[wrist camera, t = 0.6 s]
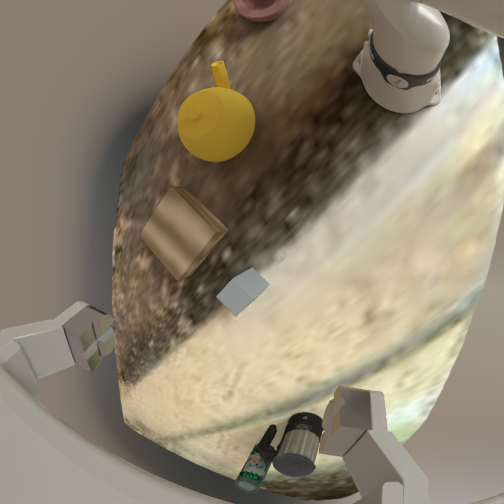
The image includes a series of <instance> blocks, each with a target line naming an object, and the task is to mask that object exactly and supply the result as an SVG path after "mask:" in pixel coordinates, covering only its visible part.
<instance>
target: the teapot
mask: <svg viewBox="0 0 504 504" xmlns="http://www.w3.org/2000/svg"><path fill="white" fill-rule="evenodd" d="M211 68H212V72H213V76H214V80H215V84H216V87H212V88H207V89H203V90H200V91H198V92H196V93H194V94H192V95H191V96H189V97H188V98H187V99H186V100H185V101H184V102H183V104H182V105H181V107H180V109H179V112H178V115H177V129H178V133H179V137H180V139H181V141H182V143H183V145H184V146H185V147H186V149H187V150H188V151H189V152H191V153H192V154H193V155H194V156H196V157H198V158H200V159H202V160H205V161H208V162H221V161H225V160H228V159H230V158H233V157H234V156H236V155H237V154H239V153H240V152H241V151H242V150H243V149H244V148H245V147H246V146H247V145H248V143H249V141H250V140H251V138H252V135H253V132H254V129H255V113H254V109H253V107H252V105H251V103H250V102H249V100H248V99H247V98H246V97H245V96H243V95H242V94H240V93H239V92H237V91H234V90H232V89H231V87H230V83H229V79H228V76H227V72H226V68H225V64H224V61H217V62H214V63H212V64H211Z"/></svg>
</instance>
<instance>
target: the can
mask: <svg viewBox="0 0 504 504" xmlns="http://www.w3.org/2000/svg"><path fill="white" fill-rule="evenodd" d="M258 445H259V444H257V445H255V447H254V449H253V450H252V452H251V454H250V456H249V458H248V460H247V461H246V463H245V465H244V467H243V469H242V470H241V472H240V474H239V476H238V477H237V479H236V481H235V485H236V486H237V488H239V489H240V490H242V491H244V492H248V493H255V492H257V491H258V490H259V489H260V486H261V484H262V482H263V480H264V478H265V476H266V474H267V472H268V469H269V467H270V465H271V463H272V462H270V461H266V460H264V459H263V458H261V457H260V455H259V452H258ZM268 449H270V450H275V449H274V448H273V447H272V446H269V448H268Z"/></svg>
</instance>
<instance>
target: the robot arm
mask: <svg viewBox="0 0 504 504" xmlns="http://www.w3.org/2000/svg"><path fill="white" fill-rule="evenodd" d="M361 1H362V3H363V4H364V5H365V6H366V8H367V9H368V10H369V12H370V14H371V17H372V23H373V29H370V31H369V33H368V38H369V40H368V41H365V42H364V45H363V46H364V47H363V49H362V50H361V52H360V53H359V55H358V56H357V58H356V59H355V61H354V62H353V65H352V68H353V70H354V71H355V72H356V73H357V74H358V75H359V76H360V77H361V79H362V82H363V84H364V87H365V89H366V91H367V93H368V94H369V95H370V97H371V98H372V99H373V100H374V101H375V102H376V103H378V104H379V105H381V106H382V107H384V108H386V109H388V110H390V111H393V112H397V113H413V112H416V111H418V110H420V109H422V108H423V107H425V106H428V105H437V104H439V102H440V99H441V87H440V65H441V58H442V56H443V54H444V52H445V50H446V48H447V46H448V44H449V39H450V34H449V29H448V26H447V24H446V22H445V20H444V18H443V16H442V15H441V13H440V12H439V11H442V12H444V13H446V14H449V15H451V16H453V17H455V18H457V19H459V20H462V21H464V22H466V23H468V24H470V25H472V26H473V27H475V28H478V29H481V30H484V31H486V32H489V33H491V34H494V35H496V36H499V37H502V38H504V0H361ZM438 10H439V11H438ZM359 62H360V63H359ZM435 94H436V95H435ZM112 324H113V321H112V317H111V316H110V315H108V314H106V313H104V312H102V311H100V310H98V309H96V308H95V307H93V306H90V305H88V304H86V303H84V302H83V301H79V302H76V303H75V304H74V305H72V306H71V307H70V308H68V309H67V310H66V311H64V312H63V313H62V314H60V315H59V316H58V317H57V318H55V319H54V320H50V319H49V320H44V321H39V322H35V323H30V324H26V325H20V326H16V327H11V328H6V329H3V330H2V331H0V504H233V503H230V502H226V501H222V500H219V499H216V498H213V497H209V496H206V495H203V494H200V493H197V492H194V491H192V490H189V489H187V488H184V487H181V486H179V485H176V484H174V483H171V482H169V481H166V480H164V479H162V478H160V477H157V476H155V475H153V474H151V473H149V472H147V471H144V470H143V469H140V468H138V467H137V466H135V465H133V464H131V463H129V462H127V461H125V460H123V459H121V458H120V457H118V456H116V455H114V454H113V453H111V452H109V451H107V450H106V449H104V448H103V447H101V446H99V445H98V444H96V443H95V442H93V441H91V440H90V439H88V438H87V437H85V436H84V435H82V434H81V433H79V432H78V431H77V430H75V429H74V428H72V427H71V426H69V425H68V424H67V423H65V422H64V421H63V420H61V419H60V418H59V417H57V416H56V415H55V414H54V413H52V412H51V411H50V410H48V409H47V408H46V407H45V406H44V405H42V404H41V403H40V402H39V401H38V400H37V399H36V398H35V397H36V396H37V395H38V394H39V393H40V392H41V390H42V388H41V386H40V384H39V382H38V380H37V379H39V378H41V377H45V376H47V375H50V374H52V373H55V372H57V371H60V370H62V369H65V368H67V367H70V366H72V365H75V363H76V364H78V365H79V366H81V367H83V368H85V369H86V370H88V371H90V372H92V371H93V370H94V369H95V368H96V367H97V366H98V364H100V362H101V357H102V356H105V355H108V354H109V353H110V352H111V351H112V349H113V347H114V345H115V339H116V337H115V332H114V331H113V329H112V328H111V326H112ZM322 427H323V429H324V430H325V431H324V433H323V434H322V436H321V437H320V446H319V453H321V454H327V455H334V456H341V457H343V460H344V462H345V464H346V466H347V468H348V470H349V472H350V474H351V476H352V478H353V480H354V482H355V484H356V486H357V488H358V490H359V492H360V494H361V496H362V499H360V500H358V501H357V502H355V503H353V504H429V487H428V478H427V477H426V476H425V475H424V473H423V472H422V471H421V469H420V468H419V467H418V465H417V464H416V463H415V462H414V460H413V459H412V458H411V456H410V455H409V454H408V453H407V451H406V450H405V449H404V447H403V446H402V445H401V444H400V442H399V441H398V440H397V438H396V437H395V436H394V435H393V433H392V432H387V420H386V410H385V401H384V394H383V393H382V392H379V391H371V390H364V389H357V388H350V387H344V386H339V387H338V388H337V389H336V391H335V392H334V399H333V400H331V401H329V403H328V405H327V407H326V410H325V412H324V416H323V421H322ZM472 504H504V493H502V494H500V495H497V496H494V497H491V498H488V499H485V500H482V501H479V502H476V503H472Z"/></svg>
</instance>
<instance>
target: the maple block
mask: <svg viewBox="0 0 504 504" xmlns="http://www.w3.org/2000/svg"><path fill="white" fill-rule="evenodd" d="M227 231H228V229H227V228H226V227H225V226H224V225H223V224H222V223H221V222H220V221H219V220H218V219H217V218H216V217H215V216H214V215H213V214H212V213H211V212H210V211H209V210H208V209H207V208H206V207H205V206H204V205H203V204H202V203H201V202H200V201H199V200H198V199H197V198H196V197H195V196H194V195H193V194H192V193H191V192H190V191H189V190H188V189H187V188H186V187H176V186H171V187H170V188H169V190H168V191H167V193H166V194H165V196H164V197H163V199H162V200H161V202H160V203H159V205H158V206H157V208H156V209H155V211H154V212H153V214H152V215H151V217H150V219H149V220H148V222H147V223H146V225H145V227H144V228H143V230H142V231H141V233H140V235H139V236H140V237H141V238H142V240H143V241H144V242H145V243H146V244H147V246H148V247H149V248H150V249H151V250H152V252H153V253H154V254H155V255H156V256H157V258H158V259H159V260H160V261H161V262H162V263H163V265H164V266H165V267H166V268H167V269H168V270H169V272H170V273H171V274H172V275H173V276H174V277H175V278H176V280H177V281H179V280H181V279H183V278H186V277H188V276H191V275H192V274H193V273H194V271H195V270H196V269H197V268H198V266H199V265H200V264H201V263H202V262H203V260H204V259H205V258H206V257H207V255H208V254H209V253H210V252H211V250H212V249H213V248H214V247H215V246H216V244H217V243H218V242H219V241H220V239H221V238H222V237H223V236H224V235H225V233H226V232H227Z"/></svg>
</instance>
